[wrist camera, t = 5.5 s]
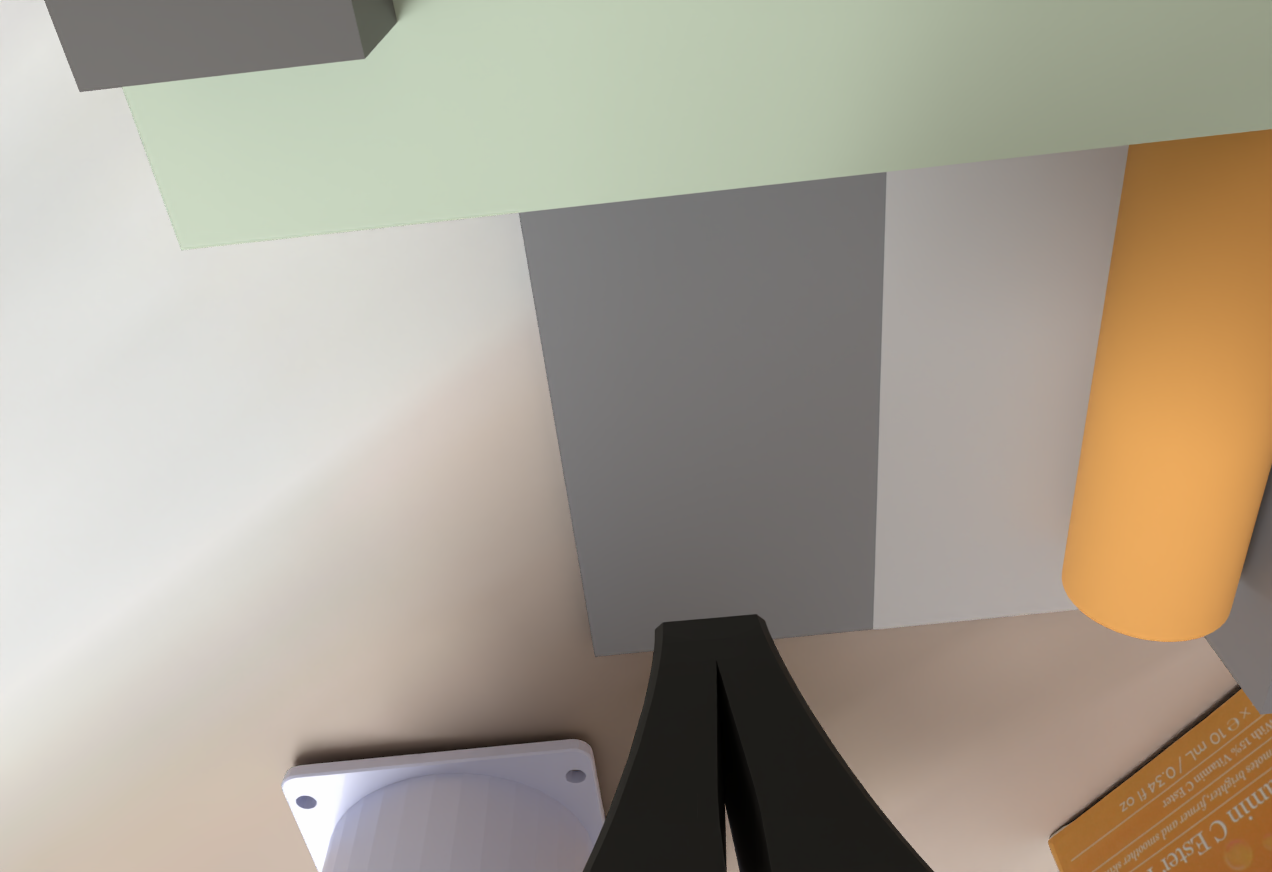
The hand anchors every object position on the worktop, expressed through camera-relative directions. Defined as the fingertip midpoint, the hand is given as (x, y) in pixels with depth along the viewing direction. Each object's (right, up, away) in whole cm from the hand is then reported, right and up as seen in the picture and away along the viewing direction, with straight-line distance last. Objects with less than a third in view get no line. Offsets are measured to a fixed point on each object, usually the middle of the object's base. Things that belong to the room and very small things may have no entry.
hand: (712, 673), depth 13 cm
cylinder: (+9, +4, +5) cm, 11 cm away
